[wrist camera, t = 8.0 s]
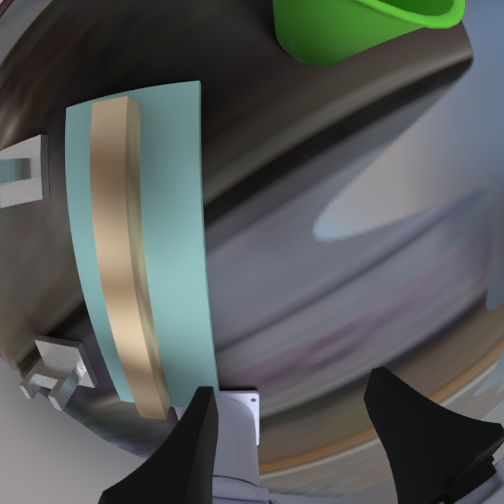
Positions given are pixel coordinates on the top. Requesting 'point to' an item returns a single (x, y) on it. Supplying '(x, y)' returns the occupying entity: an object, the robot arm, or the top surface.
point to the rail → (125, 249)
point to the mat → (154, 235)
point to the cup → (353, 24)
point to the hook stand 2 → (59, 370)
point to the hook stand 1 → (24, 172)
